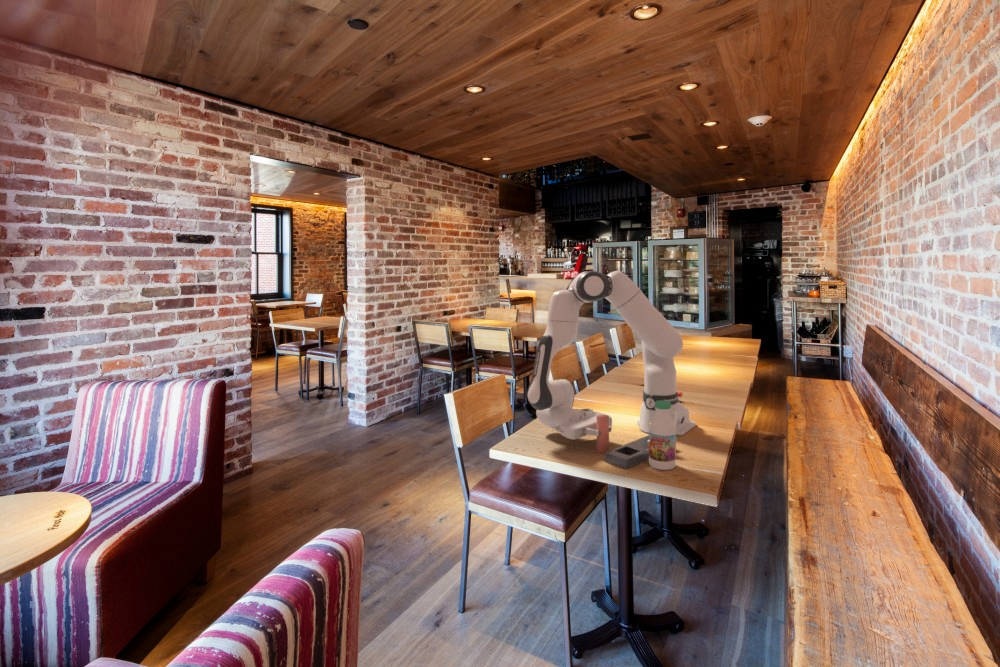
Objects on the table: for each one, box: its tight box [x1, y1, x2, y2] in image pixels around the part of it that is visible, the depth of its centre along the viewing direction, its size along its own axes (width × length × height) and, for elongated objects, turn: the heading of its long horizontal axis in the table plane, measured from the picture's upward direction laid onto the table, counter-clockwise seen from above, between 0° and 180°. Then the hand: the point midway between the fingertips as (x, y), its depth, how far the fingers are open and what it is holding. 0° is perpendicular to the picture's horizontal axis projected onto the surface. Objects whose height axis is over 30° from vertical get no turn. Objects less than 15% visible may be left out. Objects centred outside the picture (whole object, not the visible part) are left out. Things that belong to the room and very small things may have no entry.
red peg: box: [596, 413, 610, 455], centre depth 161 cm, size 4×4×12 cm
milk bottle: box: [648, 400, 677, 471], centre depth 148 cm, size 8×8×20 cm
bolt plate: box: [604, 422, 651, 470], centre depth 157 cm, size 25×8×9 cm, turn 128°
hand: (604, 431), depth 160 cm, fingers closed on red peg, 4 cm apart
